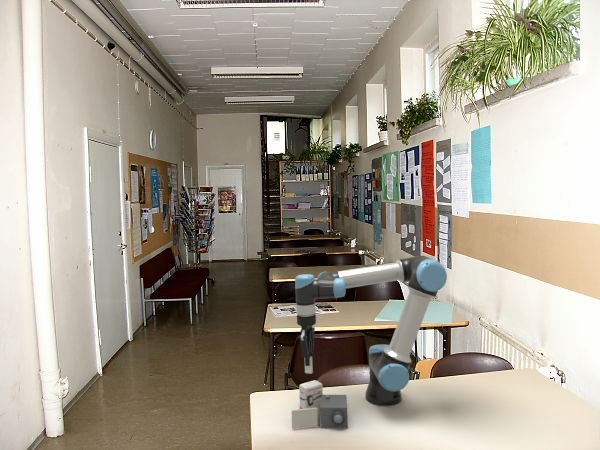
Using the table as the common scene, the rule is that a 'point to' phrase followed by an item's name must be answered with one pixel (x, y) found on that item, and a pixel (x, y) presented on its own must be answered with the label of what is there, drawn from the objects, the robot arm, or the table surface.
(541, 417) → the table surface
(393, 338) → the robot arm
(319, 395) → the ink box
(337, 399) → the housing
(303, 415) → the door
